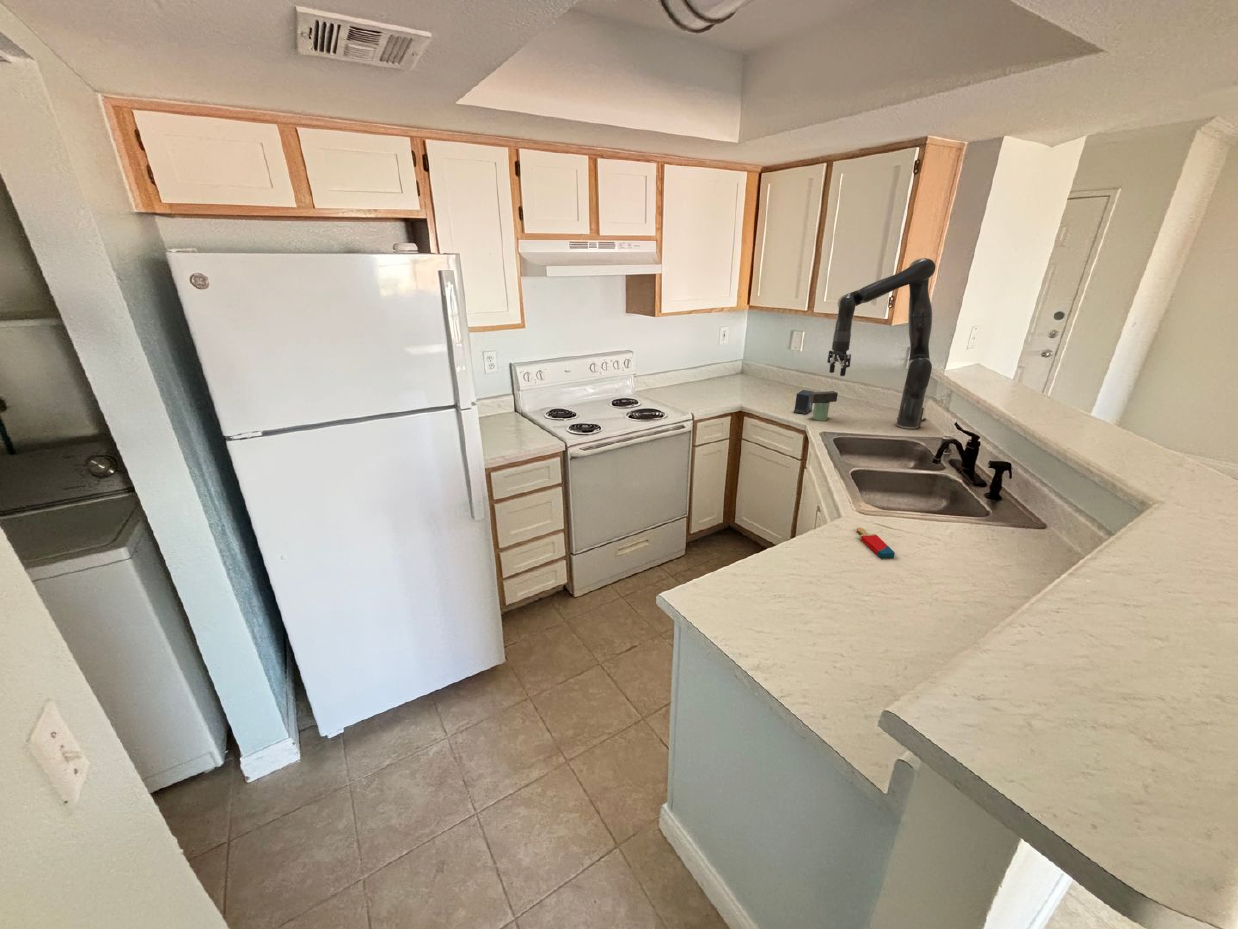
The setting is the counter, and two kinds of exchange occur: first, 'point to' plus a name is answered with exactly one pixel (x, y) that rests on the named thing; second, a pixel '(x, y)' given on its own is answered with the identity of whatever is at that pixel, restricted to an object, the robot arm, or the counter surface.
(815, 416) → the cup
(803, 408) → the small box
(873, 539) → the popsicle
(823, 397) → the bar
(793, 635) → the counter surface
